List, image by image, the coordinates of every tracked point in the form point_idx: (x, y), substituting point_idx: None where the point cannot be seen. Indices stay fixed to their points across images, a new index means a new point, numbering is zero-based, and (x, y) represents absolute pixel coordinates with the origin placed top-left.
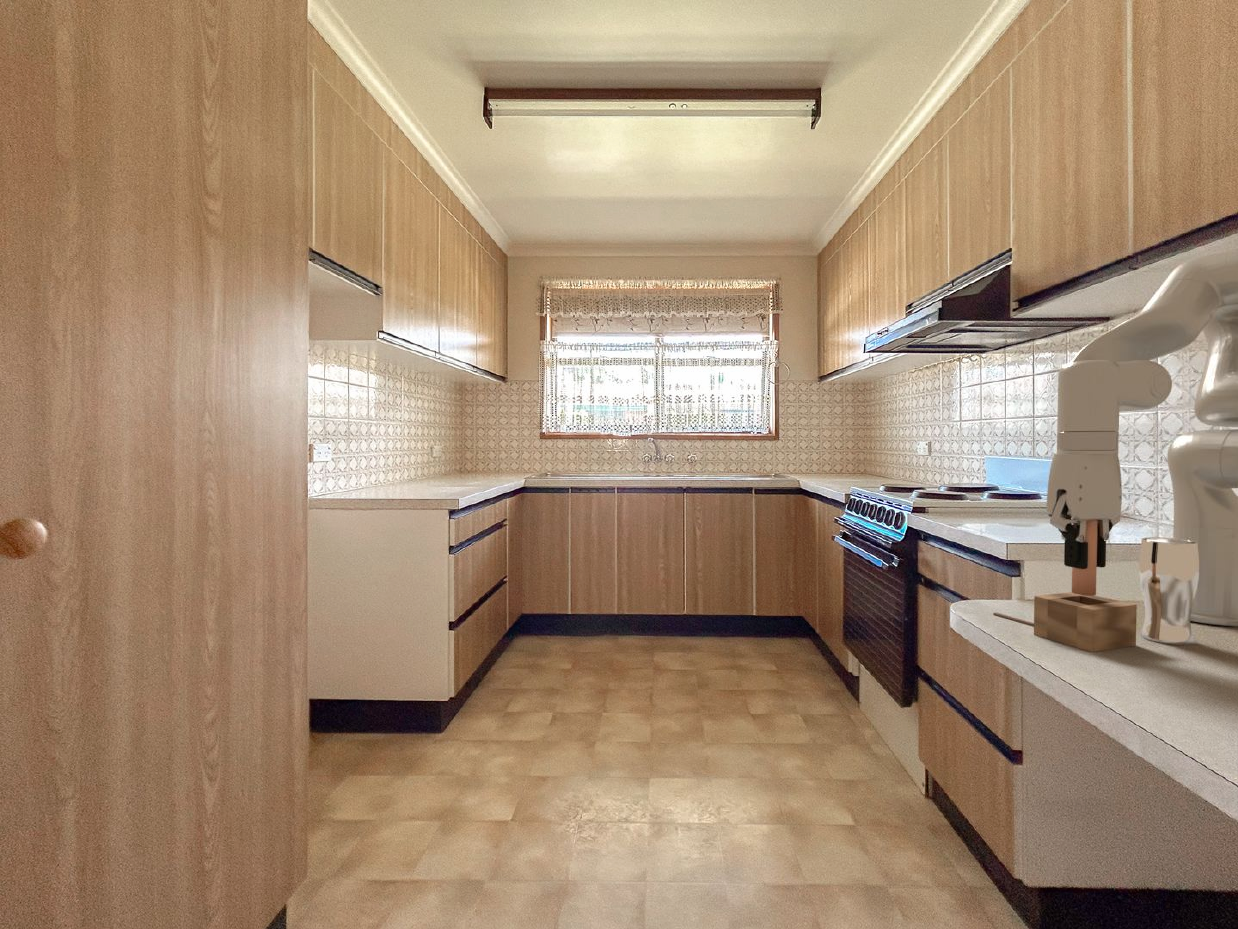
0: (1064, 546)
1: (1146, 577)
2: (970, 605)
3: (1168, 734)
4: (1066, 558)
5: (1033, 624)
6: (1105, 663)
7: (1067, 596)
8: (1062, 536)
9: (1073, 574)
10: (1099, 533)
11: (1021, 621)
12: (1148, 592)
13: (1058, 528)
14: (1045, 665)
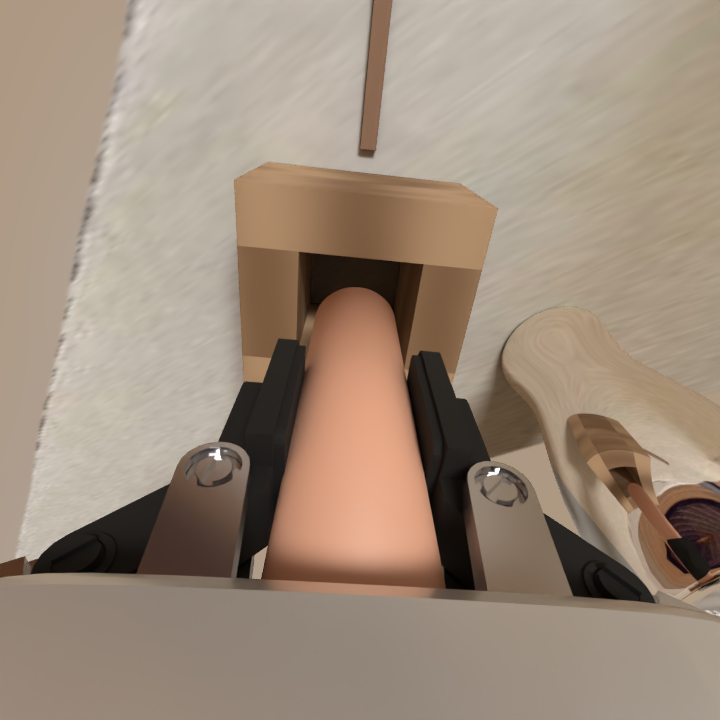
0: (258, 397)
1: (580, 449)
2: None
3: (37, 548)
4: (244, 384)
5: (366, 83)
6: (221, 388)
7: (363, 249)
8: (179, 468)
9: (312, 343)
10: (454, 572)
11: (373, 15)
12: (559, 415)
13: (25, 565)
14: (73, 346)
